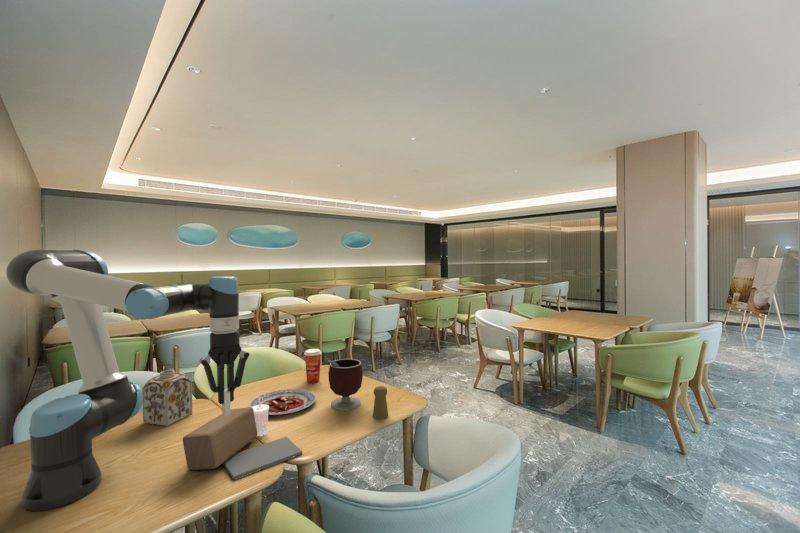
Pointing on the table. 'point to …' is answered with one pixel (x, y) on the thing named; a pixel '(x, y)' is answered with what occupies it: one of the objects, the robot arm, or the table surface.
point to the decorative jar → (167, 398)
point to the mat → (261, 457)
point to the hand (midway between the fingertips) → (226, 413)
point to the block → (219, 439)
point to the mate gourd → (345, 382)
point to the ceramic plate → (285, 401)
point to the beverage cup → (261, 418)
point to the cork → (380, 402)
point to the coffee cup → (312, 365)
